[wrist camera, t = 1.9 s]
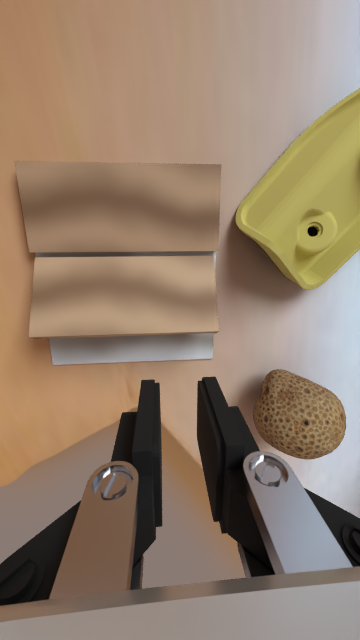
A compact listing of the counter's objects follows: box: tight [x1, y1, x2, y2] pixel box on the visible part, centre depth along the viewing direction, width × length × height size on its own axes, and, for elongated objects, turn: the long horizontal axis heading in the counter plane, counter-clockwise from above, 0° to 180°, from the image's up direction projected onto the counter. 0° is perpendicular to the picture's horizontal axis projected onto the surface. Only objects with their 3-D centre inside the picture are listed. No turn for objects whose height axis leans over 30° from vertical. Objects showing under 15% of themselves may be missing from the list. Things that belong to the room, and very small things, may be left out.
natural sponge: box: [253, 369, 346, 459], centre depth 29 cm, size 9×9×10 cm
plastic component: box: [236, 88, 360, 290], centre depth 25 cm, size 20×7×10 cm
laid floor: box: [14, 161, 221, 365], centre depth 27 cm, size 21×19×1 cm
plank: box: [29, 256, 219, 339], centre depth 26 cm, size 8×18×1 cm, turn 90°
